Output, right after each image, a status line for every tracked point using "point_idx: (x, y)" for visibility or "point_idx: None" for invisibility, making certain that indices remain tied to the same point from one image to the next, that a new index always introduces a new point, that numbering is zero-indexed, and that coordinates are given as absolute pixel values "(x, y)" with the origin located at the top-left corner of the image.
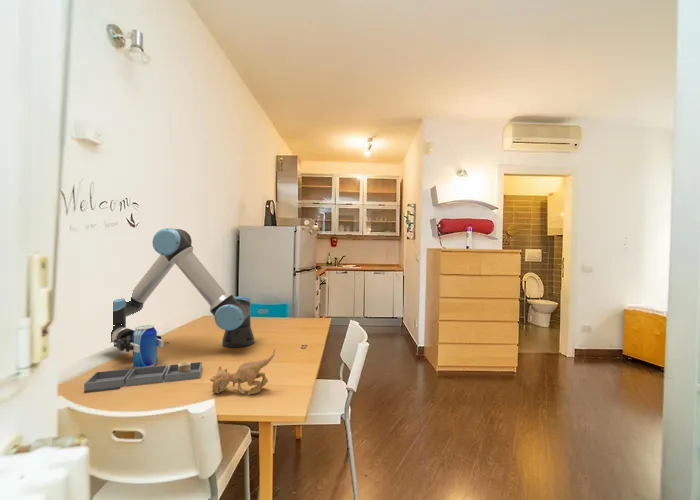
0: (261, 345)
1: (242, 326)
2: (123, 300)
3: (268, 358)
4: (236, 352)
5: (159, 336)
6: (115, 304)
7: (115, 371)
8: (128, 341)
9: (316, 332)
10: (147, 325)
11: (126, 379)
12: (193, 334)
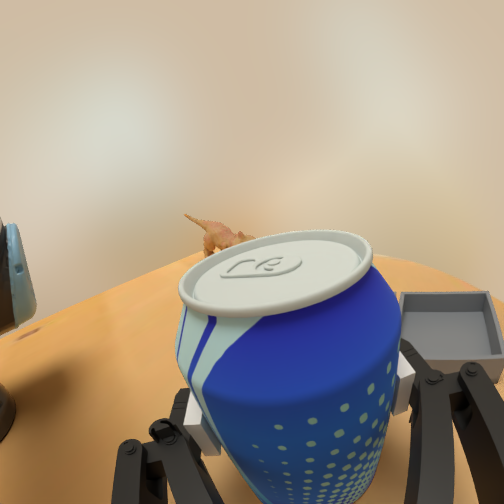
0: (8, 378)
1: None
2: None
3: (199, 220)
4: (51, 384)
5: (132, 445)
6: None
7: (444, 358)
8: (434, 440)
9: None
10: (205, 302)
11: (394, 292)
12: None
